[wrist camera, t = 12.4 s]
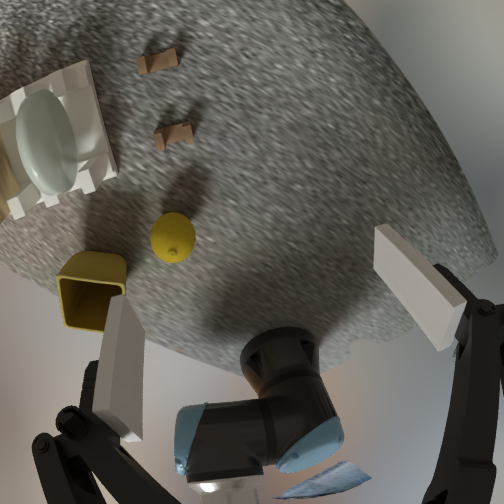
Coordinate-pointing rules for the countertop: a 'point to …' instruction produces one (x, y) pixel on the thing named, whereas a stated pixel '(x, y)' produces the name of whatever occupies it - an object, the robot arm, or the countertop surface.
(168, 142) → the board stand
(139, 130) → the countertop surface
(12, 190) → the bamboo board
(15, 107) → the dish rack
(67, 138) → the sage plate
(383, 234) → the robot arm
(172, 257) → the lemon
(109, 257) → the flower pot
